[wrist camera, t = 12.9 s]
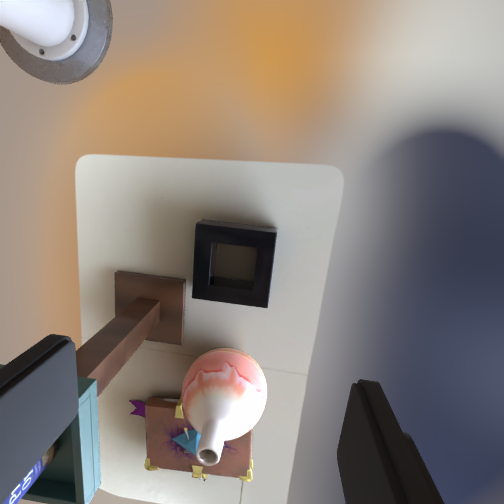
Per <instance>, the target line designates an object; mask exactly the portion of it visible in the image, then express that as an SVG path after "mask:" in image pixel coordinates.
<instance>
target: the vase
mask: <svg viewBox="0 0 504 504" xmlns="http://www.w3.org/2000/svg"><path fill="white" fill-rule="evenodd" d="M266 397H267V386H266V380H265V377H264V374H263V372H262V370H261V368H260V366H259V365H258V364H257V362H256V361H255V360H254V359H253V358H252V357H250V356H249V355H248V354H246V353H244V352H242V351H240V350H237V349H233V348H217V349H213V350H211V351H208V352H206V353H204V354H202V355H201V356H200V357H199V358H197V359H196V360H195V362H194V363H193V364H192V365H191V367H190V368H189V370H188V372H187V374H186V376H185V379H184V382H183V388H182V404H183V409H184V412H185V415H186V417H187V419H188V421H189V422H190V424H191V425H192V427H193V428H194V429H195V430H196V431H197V432H198V433H200V434H201V437H200V440H199V444H198V448H197V452H196V457H197V459H198V461H199V462H200V463H202V464H203V465H207V466H212V465H215V464H216V463H218V461H219V459H220V456H221V452H222V448H223V444H224V441H228V440H232V439H236V438H238V437H240V436H242V435H244V434H245V433H247V432H248V431H249V430H250V429H251V428H252V427H253V426H254V425H255V424H256V423H257V421H258V420H259V418H260V416H261V414H262V412H263V410H264V407H265V403H266Z"/></svg>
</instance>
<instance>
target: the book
mask: <svg viewBox="0 0 504 504" xmlns="http://www.w3.org/2000/svg"><path fill="white" fill-rule="evenodd" d="M129 401H130V402H131V403H132V404H133V405H134V406H135V407H136V408H137V409H135V410H134V411H133V412H131V413H130V414H133V415H139V416H143V417H145V418H146V444H147V458H146V461H145V469H147V470H149V471H152V470H159V468H161V469H169V470H177V471H185V472H193V474H192V477H195V478H199V480H204V481H205V480H206V478H207V476H208V474H210V475H218V476H226V477H235V478H239V479H240V480H243V481H246V482H248V481H252V471H253V460H252V458H251V452H252V432H253V427H252V428H251V429H250V430H249V431H248V432H247V433H245V434H244V435H242V436H240V437H238V438H236V439H232V440H228V441H224V444H223V448H222V452H221V456H220V459H219V461H218V463H216V464H215V465H212V466H207V465H203V464H202V463H200V462H199V461H198V459H197V457H196V452H197V448H198V444H199V440H200V437H201V434H200V433H198V432H197V431H196V430H195V429H194V428H193V427H192V425H191V424H190V422H189V421H188V419H187V417H186V415H185V412H184V409H183V404H182V395H181V397H180V399H170V398H160V397H149V398H148V399H147V402H146V404H145V403H143V402H139V401H132V400H129ZM201 477H202V478H201Z"/></svg>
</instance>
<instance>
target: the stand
mask: <svg viewBox="0 0 504 504" xmlns="http://www.w3.org/2000/svg"><path fill="white" fill-rule="evenodd" d="M185 292H186V279H179V278H171V277H164V276H156V275H148V274H140V273H133V272H125V271H117V272H115V318H114V319H112V320H111V321H110V322H109V323H108V324H107V325H106V326H104V327H103V328H102V329H101V330H100V331H99V332H97V333H96V334H95V335H94V336H93V337H92V338H91V339H89V340H88V341H87V342H86V343H85V344H84V345H82V346H81V347H80V348H79V349H78V350H77V351H76V367H77V376H78V377H85V378H91V379H96V381H97V397H98V396H99V395H100V394H101V392H102V391H103V390H104V389H105V387H106V386H107V385H108V384H109V383H110V381H111V380H112V379H113V378H114V377H115V375H116V374H117V373H118V372H119V370H120V369H121V368H122V367H123V366H124V364H125V363H126V362H127V361H128V359H129V358H130V357H131V356H132V355H133V353H134V352H135V351H136V350H137V348H138V347H139V346H140V345H141V344H142V342H143V341H144V340H148V341H155V342H162V343H169V344H176V345H182V343H183V337H184V315H185Z"/></svg>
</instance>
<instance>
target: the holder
mask: <svg viewBox="0 0 504 504" xmlns="http://www.w3.org/2000/svg"><path fill="white" fill-rule="evenodd" d="M276 237H277V228H274V227H265V226H256V225H248V224H239V223H231V222H222V221H213V220H205V219H202V220H201V221H199V222H197V223H196V230H195V249H194V268H193V288H192V298H195V299H202V300H210V301H217V302H225V303H232V304H240V305H247V306H255V307H262V308H268V301H269V293H270V285H271V277H272V269H273V261H274V253H275V245H276ZM217 243H222V244H231V245H239V246H247V247H255V248H257V256H256V265H255V274H254V282H253V281H245V280H237V279H230V278H222V277H214V276H215V263H216V249H217Z"/></svg>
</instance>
